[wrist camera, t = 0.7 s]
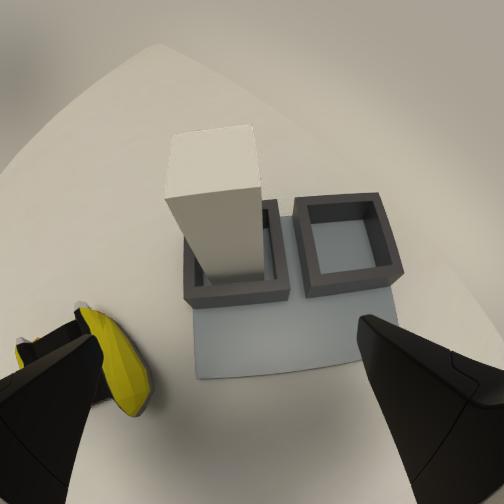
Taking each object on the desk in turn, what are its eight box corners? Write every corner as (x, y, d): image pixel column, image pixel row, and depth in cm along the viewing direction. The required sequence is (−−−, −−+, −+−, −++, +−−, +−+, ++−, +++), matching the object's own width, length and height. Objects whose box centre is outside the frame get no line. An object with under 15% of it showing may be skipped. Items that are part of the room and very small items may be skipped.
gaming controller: (177, 402, 20) (130, 297, 23) (151, 409, 15) (99, 275, 18) (55, 446, 17) (24, 356, 21) (18, 452, 12) (-12, 346, 16)
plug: (264, 283, 22) (261, 186, 11) (213, 288, 22) (164, 198, 11) (259, 234, 24) (251, 120, 13) (211, 239, 24) (172, 131, 13)
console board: (397, 351, 20) (420, 344, 16) (199, 378, 20) (185, 378, 17) (365, 215, 25) (378, 190, 22) (194, 231, 26) (183, 207, 22)
